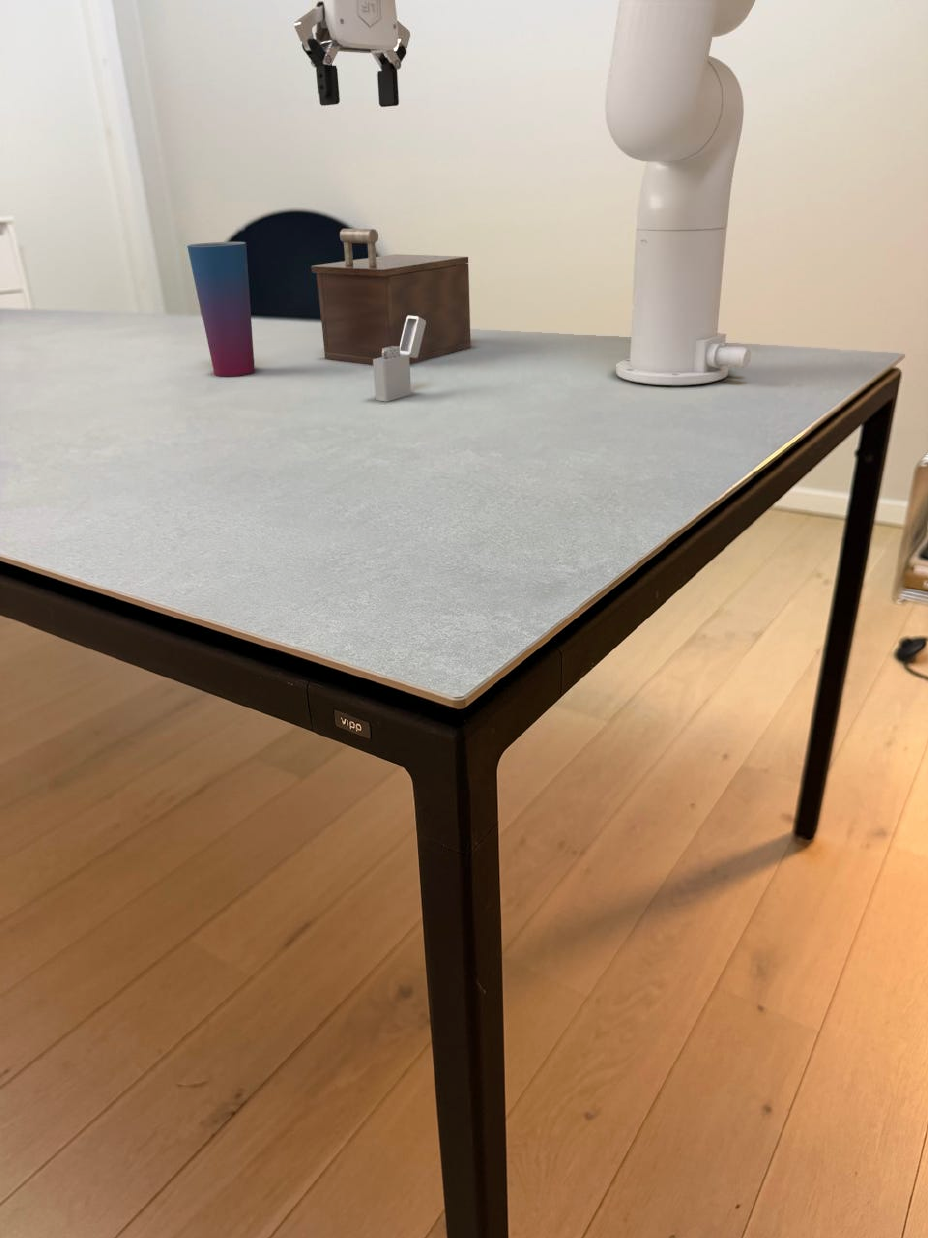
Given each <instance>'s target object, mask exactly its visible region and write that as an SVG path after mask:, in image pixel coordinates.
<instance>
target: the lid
mask: <svg viewBox="0 0 928 1238" xmlns="http://www.w3.org/2000/svg"><path fill="white" fill-rule="evenodd" d="M339 238H340V241H341V242H342V243H343V250H344V261H337V262H330V263H323V264H315V265H310V266H311V273H314V274H317V273H332V274H351V275H371V276H391V275H397V274H403V273H410V272H416V271H422V270H428V269H435V268H441V267H447V266H454V265H460V264H469V257H468V256H459V255H457V256H456V255H455V256H454V255H431V254H428V255H427V254H426V255H425V254H402V253H401V254H397V253H395V254H389V255H388V254H387V255H381V256H377V250H376V243H377V242H378V240H379V232H378V231H377V229H374V228H342V229H341V230H340V232H339ZM352 244H367V255H368V257H367V258H359V259H354V257H353V245H352Z"/></svg>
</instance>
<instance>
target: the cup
mask: <svg viewBox="0 0 928 1238" xmlns="http://www.w3.org/2000/svg"><path fill="white" fill-rule="evenodd" d="M186 246H187V251H188V256H189V261H190V267H191V270H192V276H193V281H194V285H195V289H196V294H197V299H198V303H199V308H200V313H201V318H202V323H203V327H204V332H205V336H206V341H207V347H208V350H209V356H210V359H211V360H210V361H211V365H212V370H213V374H214V375H215V376H218V377H239V376H240V377H241V376H246V375H251V374H253V373H255V371H256V366H255V356H254V355H255V352H254V351H255V350H254V339H253V323H252V310H251V309H252V308H251V295H250V282H249V281H250V280H249V266H248V254H247V251H248V250H247V242H245V241H215V242H214V241H212V242H201V243H193V244H191V243H190V244H188V245H186Z"/></svg>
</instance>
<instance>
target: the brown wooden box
mask: <svg viewBox="0 0 928 1238" xmlns="http://www.w3.org/2000/svg"><path fill="white" fill-rule="evenodd" d="M469 277H470V273H469V263H466V264H460V265H454V266H447V267H441V268H435V269H428V270H422V271H416V272H410V273H403V274H397V275H391V276H371V275H351V274H332V273H316V280H317V289H318V290H317V292H318V303H319V311H320V313H319V314H320V321H321V333H322V342H323V353H324V359H326V360H333V361H339V362H340V361H341V362H342V361H343V362H350V363H355V364H365V365H373V359H376V358H380V357H382V348H387V347H391V346H397V347H400V343H401V339H402V335H403V330H404V326H405V322H406V318H407V316H418V317H420V318H422V319H424V320H425V321H426V325H425V329H424V333H423V337H422V341H421V346H420V350H419V354H418V357H417V358H412V357H409V364H414V363H418V362H422V361H426V360H430V359H433V358H437V357H440V356H445V355H448V354H452V353H455V352H459V351H463V350H467V349H471V347H472V343H471V312H470V311H471V309H470V306H471V305H470V278H469Z"/></svg>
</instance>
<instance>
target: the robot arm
mask: <svg viewBox="0 0 928 1238" xmlns="http://www.w3.org/2000/svg"><path fill="white" fill-rule="evenodd" d="M755 2H756V0H619V1H618V8H617V14H616V20H615V27H614V34H613V41H612V49H611V54H610V60H609V68H608V75H607V82H606V90H605V105H604V106H605V108H604V109H605V120H606V121H605V122H606V125H607V129H608V132H609V135H610V137H611V139H612V141H613V142H614V144H615V146H616V147H617V148H618V149H619V150H620V151H621V152H622V153H623V154H625V155H626V156H628V157H630V158H632V159H634V160H637V161H642V162H645V165H644V169H643V174H642V178H641V182H640V183H641V184H640V188H639V194H638V201H637V215H636V230H635V247H634V248H635V249H634V250H635V251H634V266H633V267H634V269H633V270H634V271H633V291H632V309H631V311H632V313H631V314H632V315H631V331H630V333H631V334H630V336H631V337H630V351H629V352H630V353H629V355H630V356H629V357H628V358H625V359H623V360H620V361H619V362H617V363H616V366H615V375H617V376H618V378H620V379H623V380H626V381H629V382H633V383H639V384H647V385H658V386H690V385H701V384H703V385H704V384H709V383H713V382H717V381H721V380H723V379H725V378H727V376H728V375H729V368H730V367H735V368H736V367H737V368H747V367H748V366H749V364H750V361H751V349H749V348H748V347H747V346H729V344H728V343H726V339H727V338H726V337H727V333H723V332H719V331H718V329H719V320H720V319H719V318H720V309H721V297H722V285H723V284H722V283H723V275H724V274H723V273H724V263H725V253H726V252H725V251H726V239H727V230H728V229H727V228H728V221H729V210H730V201H731V191H732V184H733V183H732V182H733V177H734V169H735V165H736V159H737V154H738V150H739V146H740V140H741V137H742V136H741V135H742V131H743V125H744V114H745V111H744V110H745V108H744V107H745V105H744V96H743V91H742V88H741V85H740V82H739V80H738V78H737V77H736V75H735V73H734V71H732V69H731V68H730V67H729V66H728V65H727V64H726V63H724V62H723V61H722V60H720V59H718V58H716V57H713V56H712V55H710V51H711V46H712V42H713V38H718V37H722V36H726V35H728V34H730V33H731V32H733V31H735V30H736V29H737V28H738V27H740V26H741V25H742V24H743V23H744V21H745V20H746V19H747V18H748V17H749V15H750V12H751V11H752V9H753V7H754V5H755ZM311 4H312V5H311V6H312V7H311V8H312V9H311V10H309V11H308V12H307V13H306V14H304V15H303V16H301V17H300V18H299V19H297V20H296V21H294V25H293V26H294V29H295V32H296V34H297V36H298V38H299V41H300V42H301V48H302V50H303V52H304V53H305V54H306V56H307V57H308V59H309V60H310V64H311V66H312V67H313V68H315V71H316V72H315V73H316V83H317V93H318V99H319V100H318V101H319V105H320V106H335V105H339V104H340V101H341V98H340V85H339V72H338V68H337V65H333V63H334V60H335V59H336V56H337V55H338V53H339V52H344V53H359V54H372V56H373V58H374V60H375V62H376V64H377V65H378V67H379V68H380V70H378V71H377V73H376V78H377V79H376V82H377V96H378V105H379V107H381V108H387V107H397V106H399V104H400V96H399V80H398V79H399V77H398V70H401V68H402V62H403V60H404V59H405V57H406V55H407V49H408V46H409V42H410V38H411V32H410V30H409V29H408V28H407V27H405V26H404V25H403V24H402V23H401V22H400V21H399V20H398V15H397V4H396V0H311ZM313 31H314V32H313Z"/></svg>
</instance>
